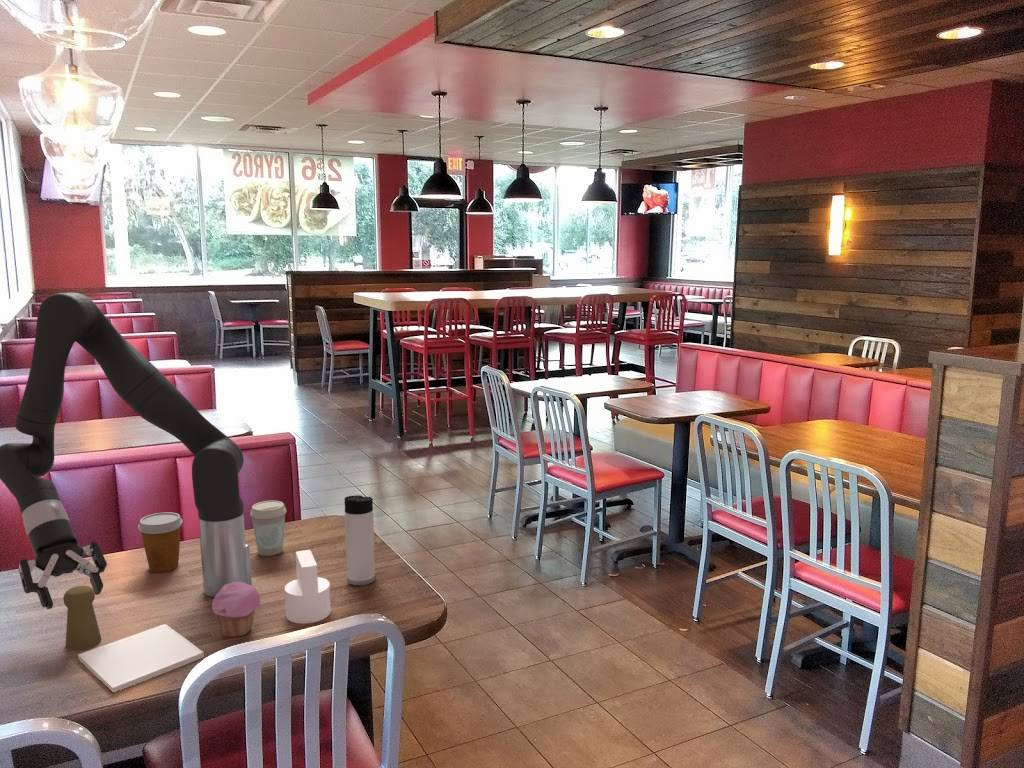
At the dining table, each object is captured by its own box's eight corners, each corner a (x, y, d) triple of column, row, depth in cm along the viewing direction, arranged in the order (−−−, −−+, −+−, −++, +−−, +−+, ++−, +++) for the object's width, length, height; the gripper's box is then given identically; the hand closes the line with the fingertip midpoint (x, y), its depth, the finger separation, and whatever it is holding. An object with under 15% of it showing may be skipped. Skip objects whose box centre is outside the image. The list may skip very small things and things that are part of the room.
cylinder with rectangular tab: (283, 607, 164) (280, 553, 161) (326, 600, 167) (324, 547, 165) (289, 626, 155) (286, 570, 153) (334, 618, 159) (332, 563, 157)
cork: (86, 652, 145) (80, 596, 143) (58, 648, 147) (52, 593, 145) (108, 636, 151) (103, 583, 149) (81, 633, 152) (76, 580, 150)
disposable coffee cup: (194, 564, 185) (190, 516, 183) (157, 578, 177) (153, 528, 175) (169, 555, 190) (166, 508, 188) (133, 569, 182) (128, 520, 180)
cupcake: (227, 620, 158) (224, 574, 156) (268, 622, 157) (266, 576, 155) (206, 642, 149) (202, 593, 147) (249, 645, 148) (246, 596, 146)
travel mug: (340, 583, 175) (337, 498, 171) (357, 572, 181) (354, 490, 178) (364, 588, 173) (361, 502, 169) (380, 576, 179) (378, 493, 175)
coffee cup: (247, 558, 189) (244, 511, 187) (258, 545, 197) (256, 499, 195) (282, 558, 189) (280, 511, 187) (292, 545, 197) (290, 499, 195)
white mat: (165, 628, 154) (165, 623, 154) (203, 657, 144) (203, 652, 144) (78, 659, 143) (77, 654, 143) (113, 693, 132) (112, 687, 132)
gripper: (10, 527, 147) (36, 603, 142) (91, 509, 157) (118, 579, 152) (5, 547, 152) (30, 621, 146) (83, 528, 162) (110, 596, 156)
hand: (75, 599), depth 149 cm, fingers open, 8 cm apart
